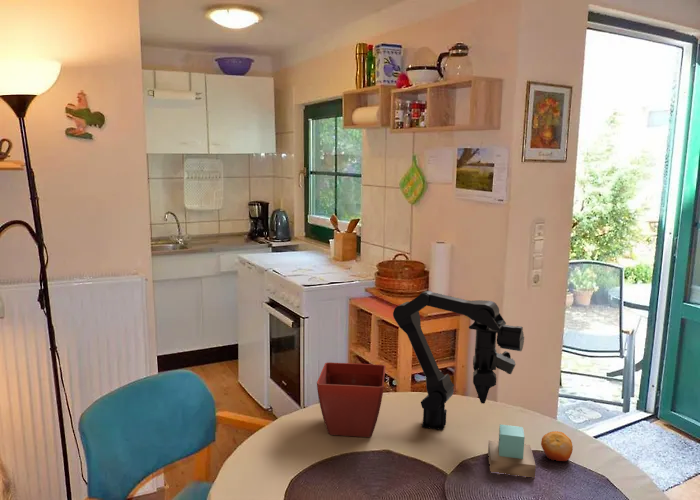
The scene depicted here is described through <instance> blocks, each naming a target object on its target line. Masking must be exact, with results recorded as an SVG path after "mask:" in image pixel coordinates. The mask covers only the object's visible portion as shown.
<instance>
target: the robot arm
mask: <svg viewBox="0 0 700 500" xmlns="http://www.w3.org/2000/svg"><path fill="white" fill-rule="evenodd" d="M425 307H432V308H435V309H439V310H444V311H447V312H453V313H456V314H460V315H463V316H466V317H467V318H469V319H470V320H472V321H473V323H472V324H470V325H469V326H468V328H469V330H474V331H475V341H474V342H475V343H474V356H473V360H472V367H473V373H472V383H473V386H474V388H475V391H476V395H477V396H478V399H479V402H480V403H481V404H483V405H485V404H486V401H487V397H488V395H489V391H490V388H492V387H495V386H496V385H497V374H496V372H495V371H496V370H497V369H498V370H500V371H503V372H505V373H506V374H508V375H512V373H513V371H514V369H515V367H516V365H517V364H516V361H515V360H514V358H511V352H508V351H506V350H509V351H510V350H511V351H515V352H522V351H523V349H524V344H525V343H524V342H525V336H524V329H523V328H524V327H523V326H519V325H509V324H507V322H506V321H505V319H504V318H503V316H502V314H501V313H500V307H499V306H498V305H497V303H496V302H494V301H492V300H483V299H482V300H468V299H463V298H459V297H456V296H455V297H454V296H449V295H445V294H442V293H439V292H438V293H437V292H433V291H431V290H425V291H422V292H421V293H420V294H419V295H418V296H417V297H414V299H412V300H410V301H406V302H405V301H404V302H403V303H401V304H399V305H397V306H396V307H395V308H394V310H393V312H392V316H393V319H394V321H395V322H396V324H397V325H398V327H399V328H400V330H402V331H403V332H404V333H405V334H406V335H407V337H408V340H409V342H410V345H411V347H412V350H413V352H414V354H415V356H416V359H417V360H418V363H419V365H420V367H421V369H422V371H423V375H424V376H425V384H426V385H425V386H426V392H427V395H426V396H425V397H424V398H423V399H422V400H421V401H420V404H421V408H422V411H423V414H422V416H423V417H422V424H421V427H422V428H425V429H434V430H442V431H443V430H445V427H446V425H447V412H448V411H447V409H445V408H446V403H447V402H448V401H449V400H450V398H451V397H453V395H454V391H455V390H454V387H455V384H454V383H453V382H452V380H451V377H450V374H449V373H446V374H444V373H443V372H442V371H441V370H440V368H439V366H438V364H437V361H436V359H435V357H434V354H433V352H432V350H431V348H430V345H429V344H428V341H427V339H426V337H425V334H424V332H423V330H422V326H421V324H422V323H421V322H422V321H421V315H420V311H421V310H422V309H424V308H425ZM496 345H497V346H498V347H499V348H500V349H502V350H503V349H505V351H503V352H502V353H501V352H500V353H499V352H497V348H496Z"/></svg>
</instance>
